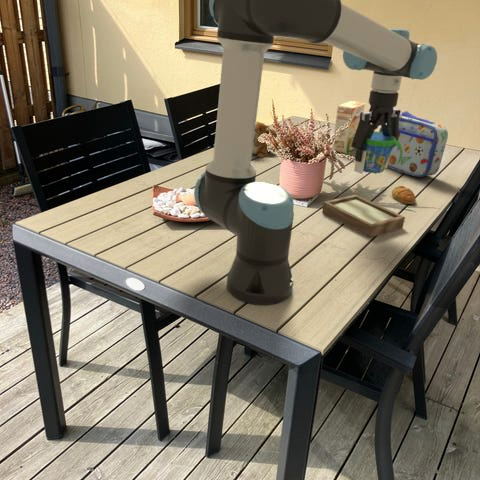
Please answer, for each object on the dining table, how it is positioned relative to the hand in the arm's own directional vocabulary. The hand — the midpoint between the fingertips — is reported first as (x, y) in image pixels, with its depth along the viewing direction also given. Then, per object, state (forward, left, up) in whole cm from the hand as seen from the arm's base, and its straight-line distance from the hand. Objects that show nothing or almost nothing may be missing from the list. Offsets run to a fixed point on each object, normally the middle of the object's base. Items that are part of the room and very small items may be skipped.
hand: (370, 169), depth 144 cm
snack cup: (0, 0, 0) cm, 0 cm away
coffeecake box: (+52, +60, -16) cm, 81 cm away
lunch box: (+52, +27, -16) cm, 61 cm away
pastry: (+27, +6, -17) cm, 32 cm away
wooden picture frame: (0, 0, -16) cm, 16 cm away
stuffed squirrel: (+12, +69, -16) cm, 72 cm away
